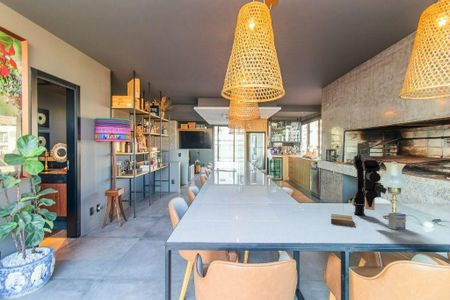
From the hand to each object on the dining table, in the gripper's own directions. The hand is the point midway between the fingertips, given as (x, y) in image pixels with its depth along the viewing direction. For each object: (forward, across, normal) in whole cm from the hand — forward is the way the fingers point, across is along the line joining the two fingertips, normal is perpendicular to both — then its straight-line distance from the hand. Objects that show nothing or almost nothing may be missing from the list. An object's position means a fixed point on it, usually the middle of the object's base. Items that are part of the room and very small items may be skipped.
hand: (369, 206), depth 145 cm
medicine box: (+12, +1, -14) cm, 18 cm away
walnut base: (+12, 0, +15) cm, 19 cm away
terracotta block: (+2, 0, 0) cm, 2 cm away
